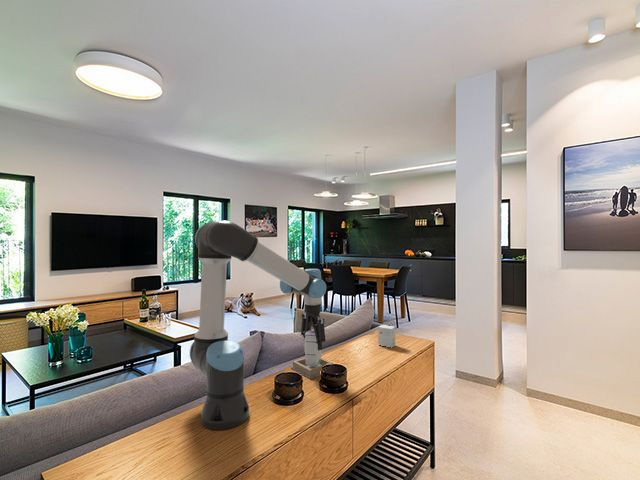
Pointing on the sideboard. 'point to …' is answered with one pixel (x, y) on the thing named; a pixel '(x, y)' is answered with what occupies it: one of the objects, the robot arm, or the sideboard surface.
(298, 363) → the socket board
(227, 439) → the sideboard surface
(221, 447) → the sideboard surface
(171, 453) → the sideboard surface
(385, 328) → the small box
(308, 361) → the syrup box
